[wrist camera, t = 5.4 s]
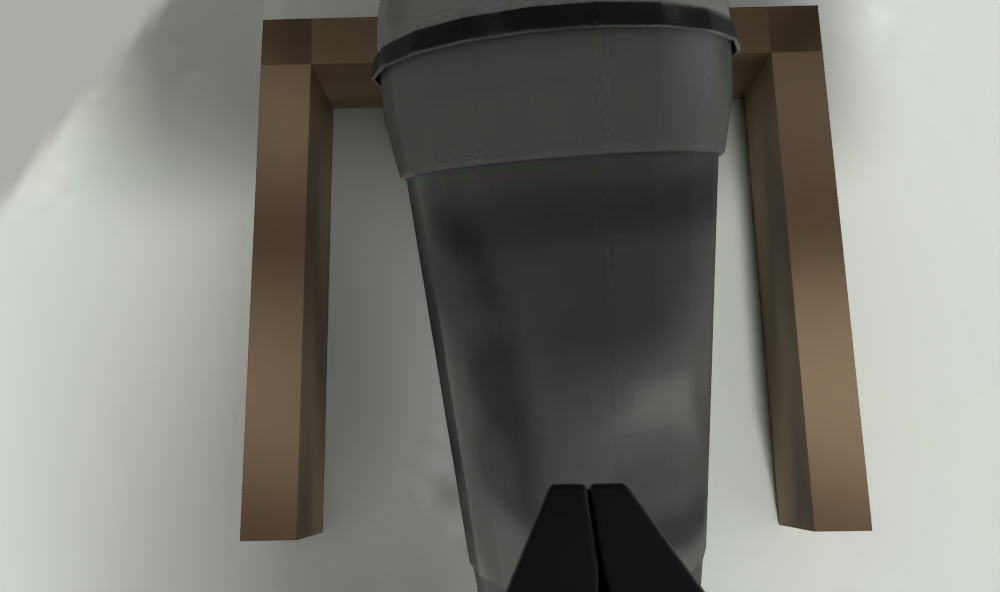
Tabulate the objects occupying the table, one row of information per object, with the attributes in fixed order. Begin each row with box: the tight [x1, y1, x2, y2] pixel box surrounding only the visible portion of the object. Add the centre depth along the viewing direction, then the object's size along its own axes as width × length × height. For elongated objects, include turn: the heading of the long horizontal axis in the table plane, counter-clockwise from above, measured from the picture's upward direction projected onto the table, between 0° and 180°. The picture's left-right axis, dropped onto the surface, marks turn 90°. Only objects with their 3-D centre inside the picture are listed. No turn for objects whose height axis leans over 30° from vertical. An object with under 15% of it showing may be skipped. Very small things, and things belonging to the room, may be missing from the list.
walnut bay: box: [240, 5, 872, 541], centre depth 20 cm, size 12×13×2 cm
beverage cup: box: [371, 0, 741, 592], centre depth 17 cm, size 7×7×20 cm
